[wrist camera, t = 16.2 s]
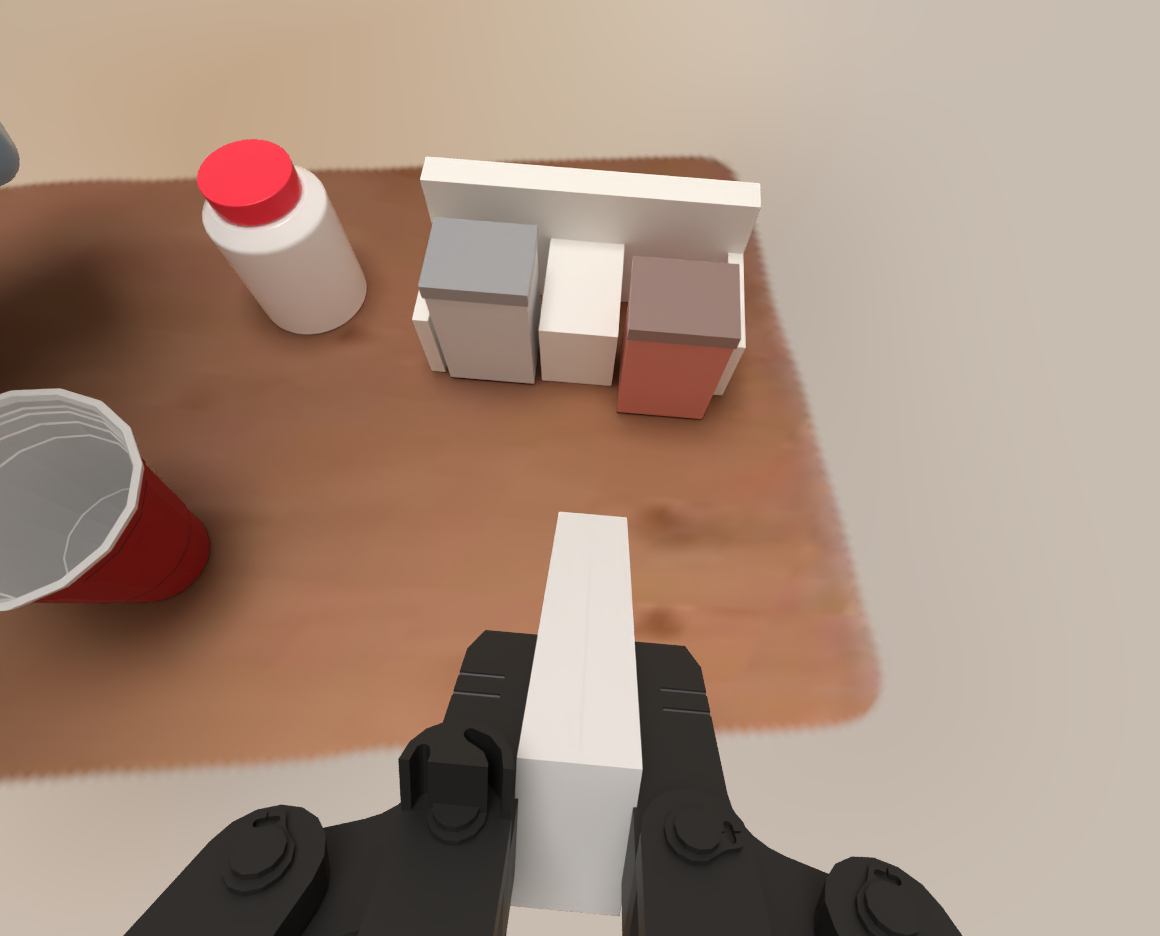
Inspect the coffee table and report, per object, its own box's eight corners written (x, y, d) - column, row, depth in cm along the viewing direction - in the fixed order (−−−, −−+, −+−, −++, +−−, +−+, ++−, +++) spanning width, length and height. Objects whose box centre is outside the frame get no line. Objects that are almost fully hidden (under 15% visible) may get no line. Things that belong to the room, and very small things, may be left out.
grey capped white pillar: (449, 377, 43) (418, 286, 34) (460, 317, 45) (434, 216, 36) (535, 385, 43) (527, 295, 34) (543, 324, 45) (537, 225, 36)
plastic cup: (225, 654, 35) (71, 625, 24) (45, 637, 36) (-189, 601, 25) (277, 483, 40) (165, 393, 29) (115, 469, 40) (-58, 374, 29)
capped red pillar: (615, 412, 42) (628, 329, 33) (619, 350, 44) (633, 255, 35) (703, 420, 42) (741, 338, 33) (703, 357, 44) (739, 264, 35)
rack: (431, 370, 43) (395, 276, 34) (453, 266, 47) (426, 156, 38) (722, 395, 43) (765, 307, 34) (721, 289, 47) (759, 183, 37)
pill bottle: (388, 292, 46) (337, 172, 36) (304, 353, 44) (224, 243, 33) (326, 237, 48) (261, 107, 38) (243, 292, 46) (150, 170, 35)
